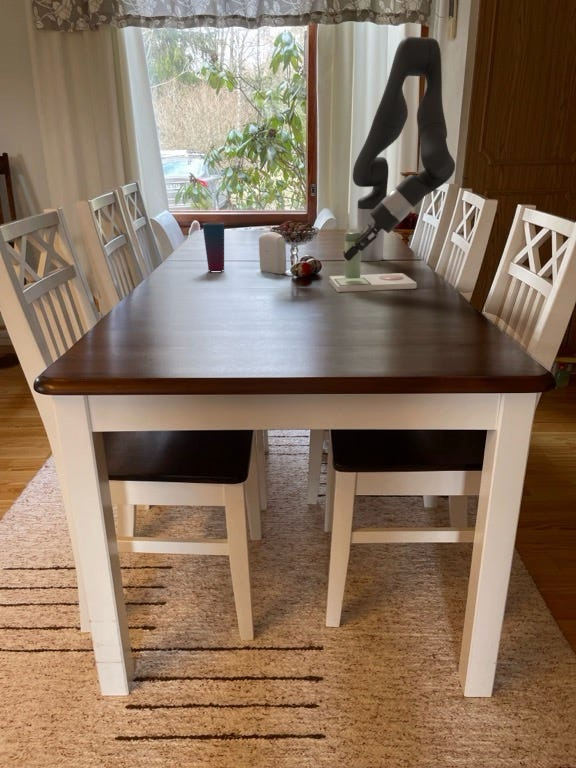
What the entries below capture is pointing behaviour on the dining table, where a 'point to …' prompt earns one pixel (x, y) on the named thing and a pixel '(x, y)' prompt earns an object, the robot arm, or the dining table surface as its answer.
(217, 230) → the cup
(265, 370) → the dining table surface
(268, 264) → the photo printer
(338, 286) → the picture board
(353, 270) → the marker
